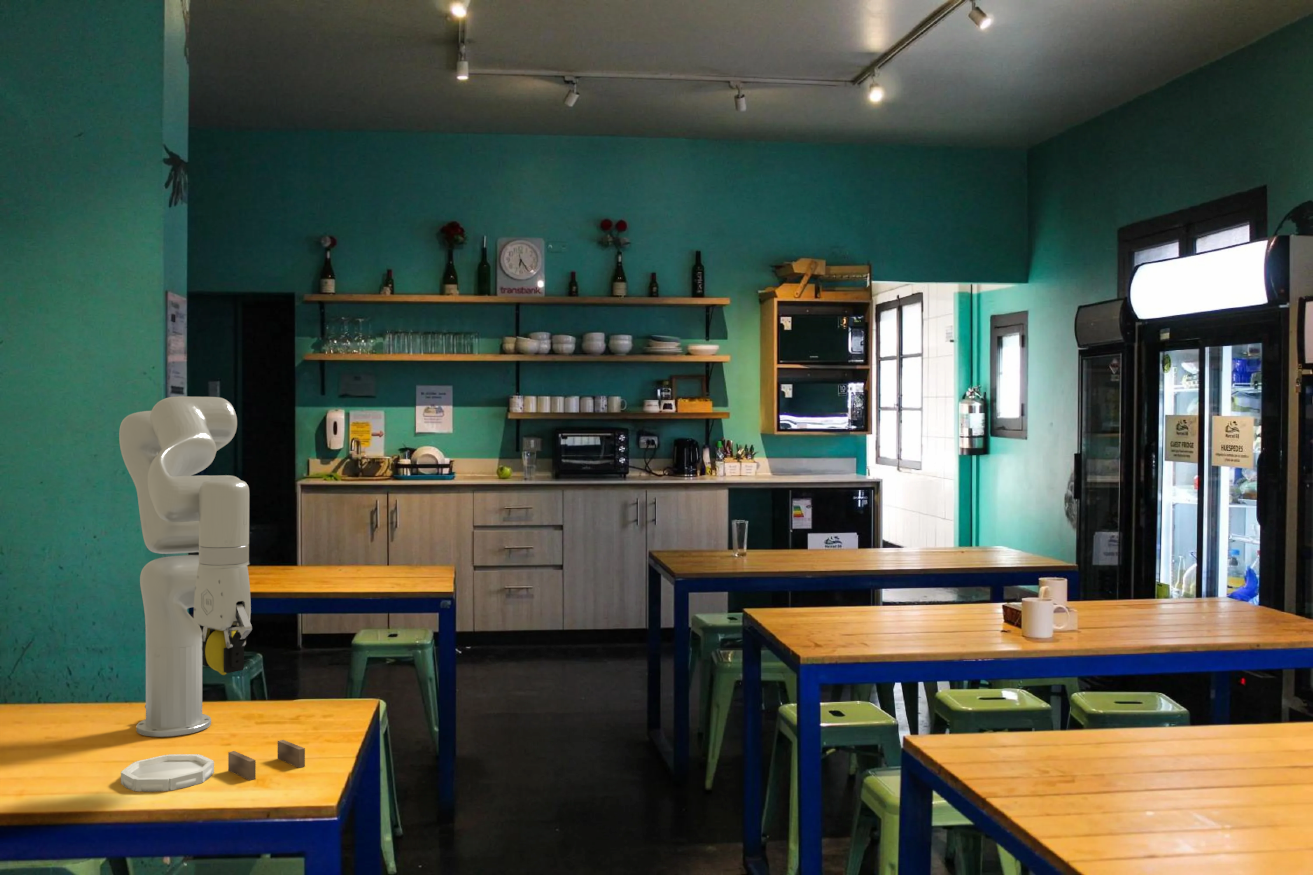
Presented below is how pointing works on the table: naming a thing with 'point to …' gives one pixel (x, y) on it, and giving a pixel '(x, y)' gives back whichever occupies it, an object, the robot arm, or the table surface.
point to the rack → (248, 765)
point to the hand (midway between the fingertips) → (223, 666)
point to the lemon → (216, 650)
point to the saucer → (167, 772)
